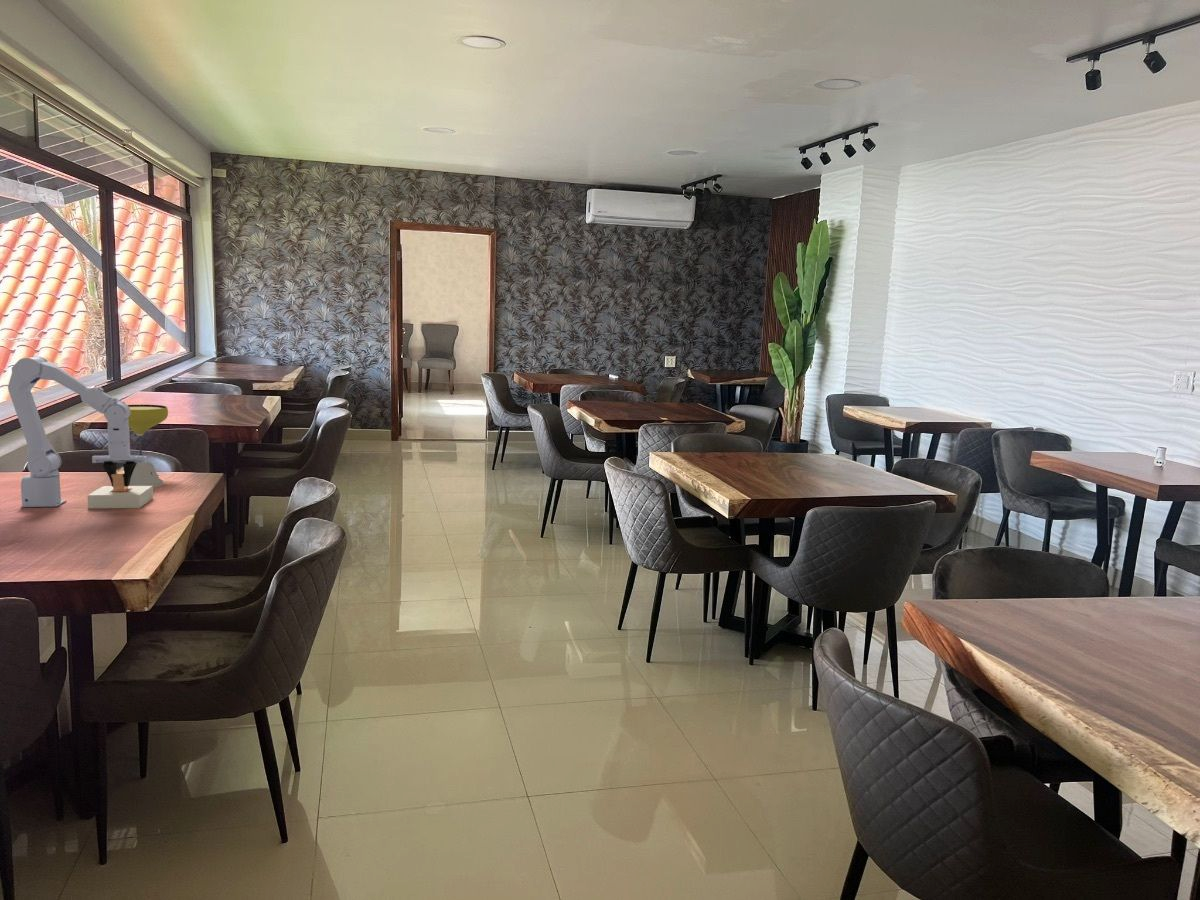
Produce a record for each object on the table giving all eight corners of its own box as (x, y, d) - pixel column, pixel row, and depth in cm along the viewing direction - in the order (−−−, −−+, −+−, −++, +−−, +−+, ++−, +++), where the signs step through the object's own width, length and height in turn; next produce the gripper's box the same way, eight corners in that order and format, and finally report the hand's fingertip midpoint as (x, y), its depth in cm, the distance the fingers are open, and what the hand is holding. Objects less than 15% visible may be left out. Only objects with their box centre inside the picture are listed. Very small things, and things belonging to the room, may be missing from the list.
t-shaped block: (112, 503, 254) (111, 474, 252) (119, 499, 259) (117, 470, 258) (123, 503, 254) (122, 474, 253) (129, 499, 260) (128, 470, 259)
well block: (88, 508, 249) (87, 495, 248) (103, 498, 262) (103, 486, 262) (140, 507, 252) (139, 494, 252) (152, 498, 266) (152, 485, 265)
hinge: (130, 494, 270) (120, 464, 269) (118, 498, 271) (107, 468, 270) (165, 484, 286) (155, 457, 285) (153, 488, 287) (143, 460, 286)
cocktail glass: (165, 471, 310) (163, 404, 306) (174, 479, 296) (171, 409, 292) (109, 474, 300) (106, 405, 296) (115, 483, 285) (112, 410, 281)
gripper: (87, 443, 249) (89, 488, 251) (141, 444, 252) (143, 488, 254) (95, 440, 256) (97, 484, 258) (148, 440, 259) (149, 483, 261)
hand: (120, 485), depth 256 cm, fingers closed on t-shaped block, 3 cm apart
